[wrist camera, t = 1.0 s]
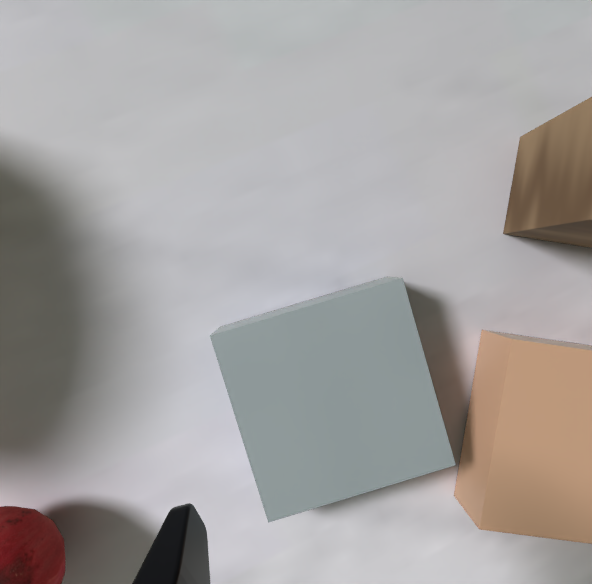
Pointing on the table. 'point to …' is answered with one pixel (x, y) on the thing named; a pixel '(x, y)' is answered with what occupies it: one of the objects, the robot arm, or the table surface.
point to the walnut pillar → (554, 181)
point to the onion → (30, 548)
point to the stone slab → (333, 397)
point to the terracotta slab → (529, 438)
